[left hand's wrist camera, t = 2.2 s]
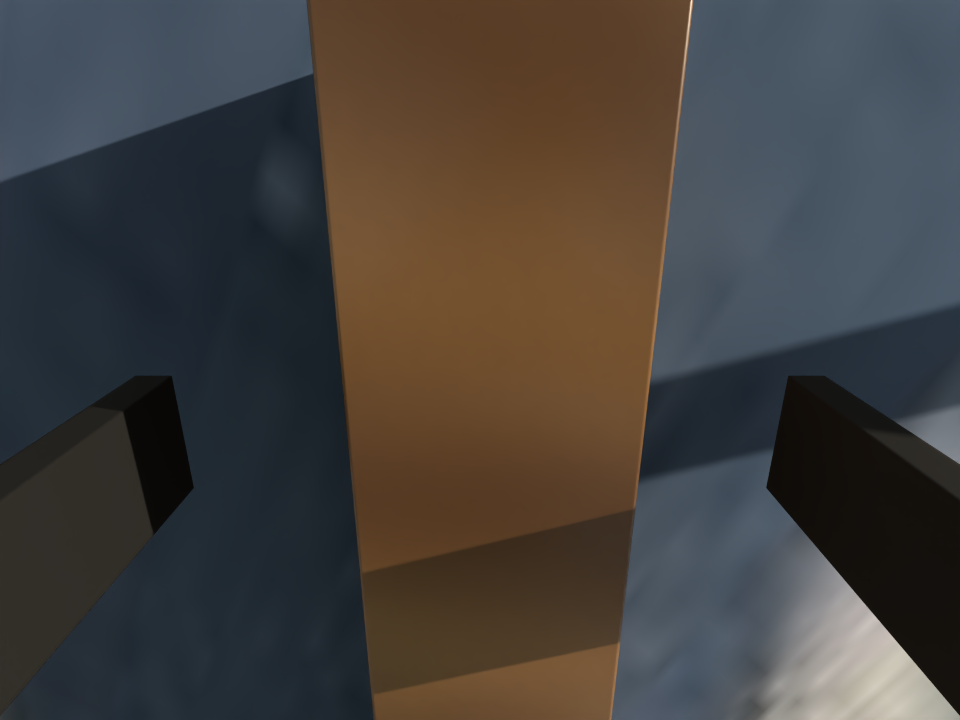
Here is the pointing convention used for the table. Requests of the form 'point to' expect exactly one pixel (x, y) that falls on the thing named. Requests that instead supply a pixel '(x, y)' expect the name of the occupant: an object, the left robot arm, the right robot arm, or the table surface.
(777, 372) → the table surface
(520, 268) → the post
